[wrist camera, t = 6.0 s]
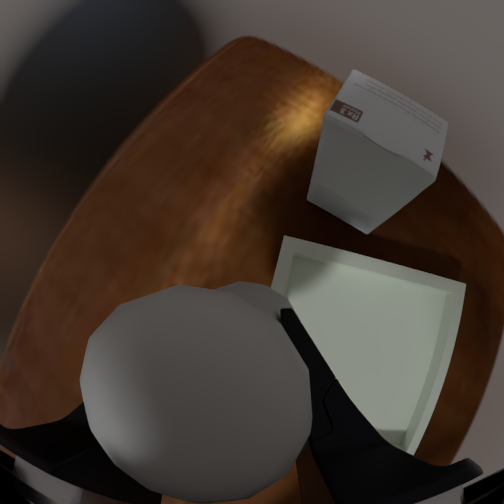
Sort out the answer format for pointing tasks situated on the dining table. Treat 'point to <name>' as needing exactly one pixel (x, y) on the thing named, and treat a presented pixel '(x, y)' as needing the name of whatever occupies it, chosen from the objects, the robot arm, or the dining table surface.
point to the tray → (375, 330)
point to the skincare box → (374, 153)
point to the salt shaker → (199, 391)
